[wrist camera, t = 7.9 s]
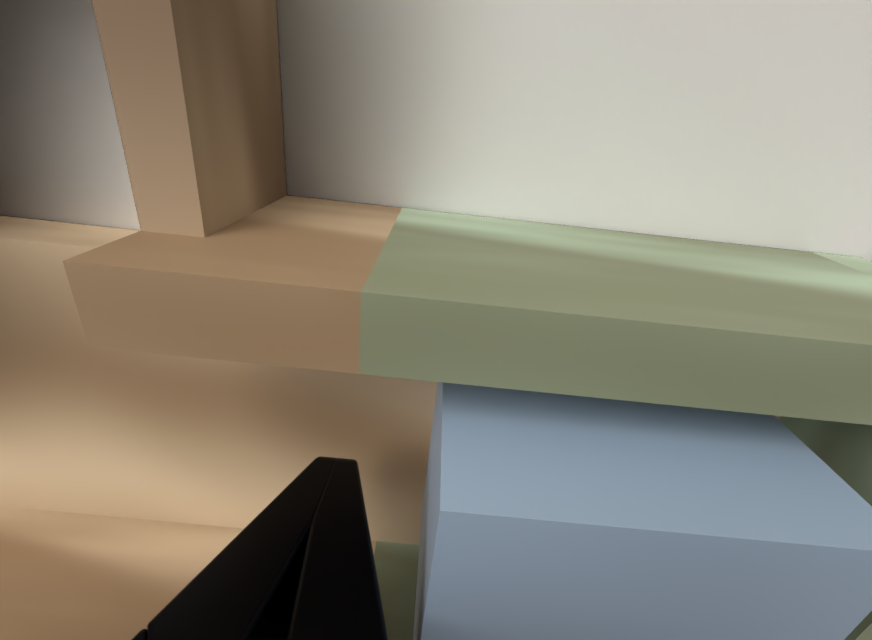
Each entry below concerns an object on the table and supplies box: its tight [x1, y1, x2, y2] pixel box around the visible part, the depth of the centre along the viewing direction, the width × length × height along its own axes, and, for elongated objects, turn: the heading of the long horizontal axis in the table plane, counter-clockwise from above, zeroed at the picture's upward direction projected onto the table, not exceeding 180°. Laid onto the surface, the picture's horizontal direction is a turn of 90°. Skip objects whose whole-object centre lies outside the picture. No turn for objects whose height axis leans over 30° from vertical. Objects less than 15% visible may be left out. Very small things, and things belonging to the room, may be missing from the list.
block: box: [413, 382, 872, 640], centre depth 7 cm, size 5×5×4 cm
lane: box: [0, 0, 872, 640], centre depth 7 cm, size 15×25×4 cm, turn 84°
